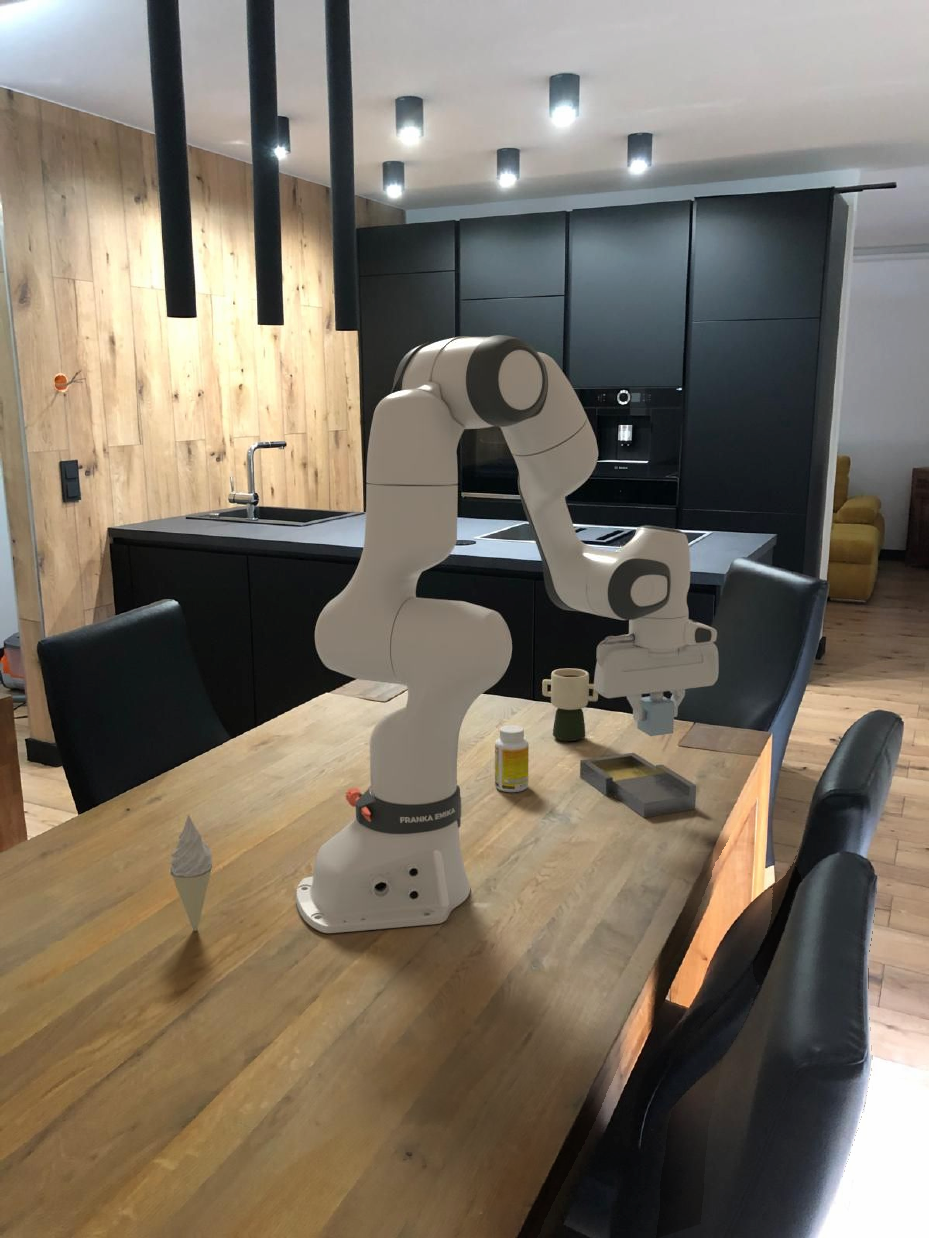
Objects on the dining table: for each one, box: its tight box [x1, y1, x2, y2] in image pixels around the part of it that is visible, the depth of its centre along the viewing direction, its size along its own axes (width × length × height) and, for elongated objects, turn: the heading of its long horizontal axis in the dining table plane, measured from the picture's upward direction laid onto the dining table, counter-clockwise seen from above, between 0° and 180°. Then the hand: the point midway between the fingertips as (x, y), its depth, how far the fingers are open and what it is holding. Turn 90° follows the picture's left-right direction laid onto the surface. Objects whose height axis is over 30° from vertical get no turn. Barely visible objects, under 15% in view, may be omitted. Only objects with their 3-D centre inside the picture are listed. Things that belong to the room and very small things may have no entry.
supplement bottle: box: [494, 724, 530, 793], centre depth 165 cm, size 6×6×10 cm
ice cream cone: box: [169, 814, 214, 932], centre depth 119 cm, size 5×5×15 cm
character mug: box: [541, 667, 599, 742], centre depth 189 cm, size 11×7×13 cm, turn 68°
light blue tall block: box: [636, 692, 675, 737], centre depth 154 cm, size 4×4×6 cm
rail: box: [579, 752, 697, 819], centre depth 163 cm, size 10×19×4 cm, turn 20°
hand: (655, 718), depth 155 cm, fingers closed on light blue tall block, 4 cm apart
